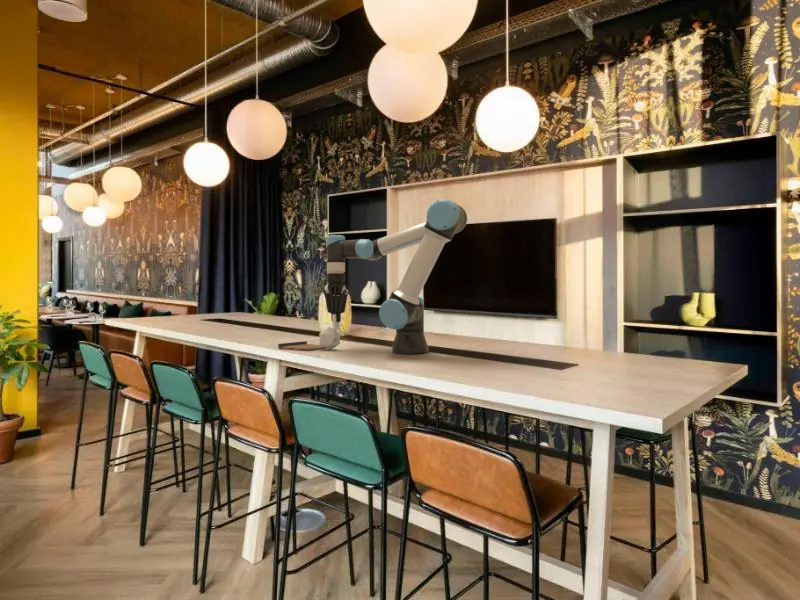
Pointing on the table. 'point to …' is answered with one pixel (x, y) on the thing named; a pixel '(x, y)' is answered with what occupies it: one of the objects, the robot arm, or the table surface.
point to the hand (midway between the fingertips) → (336, 330)
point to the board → (300, 346)
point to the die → (329, 338)
